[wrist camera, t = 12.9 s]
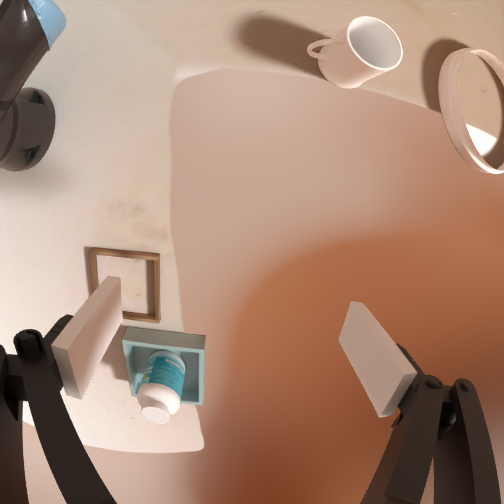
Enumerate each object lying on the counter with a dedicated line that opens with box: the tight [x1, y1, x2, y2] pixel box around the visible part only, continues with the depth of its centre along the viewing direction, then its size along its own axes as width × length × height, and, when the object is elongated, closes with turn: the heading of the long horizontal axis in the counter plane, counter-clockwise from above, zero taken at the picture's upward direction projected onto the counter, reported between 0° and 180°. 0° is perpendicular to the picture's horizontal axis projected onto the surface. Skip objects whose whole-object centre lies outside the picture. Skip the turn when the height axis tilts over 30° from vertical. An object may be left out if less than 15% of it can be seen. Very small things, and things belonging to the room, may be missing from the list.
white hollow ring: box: [438, 48, 504, 174], centre depth 38 cm, size 27×27×6 cm
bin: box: [122, 327, 206, 405], centre depth 51 cm, size 15×15×4 cm
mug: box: [307, 16, 402, 88], centre depth 32 cm, size 12×8×12 cm
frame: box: [89, 248, 161, 323], centre depth 46 cm, size 12×12×2 cm
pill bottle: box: [137, 351, 185, 424], centre depth 45 cm, size 8×7×14 cm
